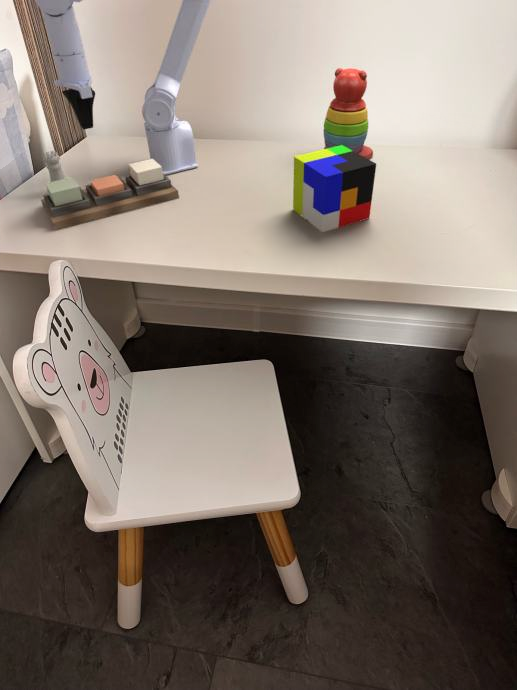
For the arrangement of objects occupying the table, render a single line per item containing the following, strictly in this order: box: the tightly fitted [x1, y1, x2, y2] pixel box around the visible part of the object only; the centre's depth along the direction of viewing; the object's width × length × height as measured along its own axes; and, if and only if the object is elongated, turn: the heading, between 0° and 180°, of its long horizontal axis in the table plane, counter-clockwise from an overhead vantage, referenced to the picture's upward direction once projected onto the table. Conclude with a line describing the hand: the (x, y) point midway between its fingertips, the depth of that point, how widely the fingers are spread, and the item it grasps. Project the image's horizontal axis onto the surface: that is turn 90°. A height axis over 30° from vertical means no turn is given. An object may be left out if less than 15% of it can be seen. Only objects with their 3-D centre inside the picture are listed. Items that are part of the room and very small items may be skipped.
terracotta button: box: [89, 174, 125, 197], centre depth 96 cm, size 5×5×2 cm
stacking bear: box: [323, 67, 374, 160], centre depth 105 cm, size 11×10×18 cm
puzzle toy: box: [292, 145, 377, 233], centre depth 88 cm, size 10×10×10 cm
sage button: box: [44, 176, 83, 206], centre depth 92 cm, size 5×5×2 cm
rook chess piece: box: [42, 150, 67, 182], centre depth 99 cm, size 4×4×8 cm
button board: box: [40, 174, 180, 231], centre depth 96 cm, size 24×11×3 cm, turn 119°
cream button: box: [128, 158, 164, 185], centre depth 97 cm, size 5×5×2 cm
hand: (87, 127), depth 102 cm, fingers closed
